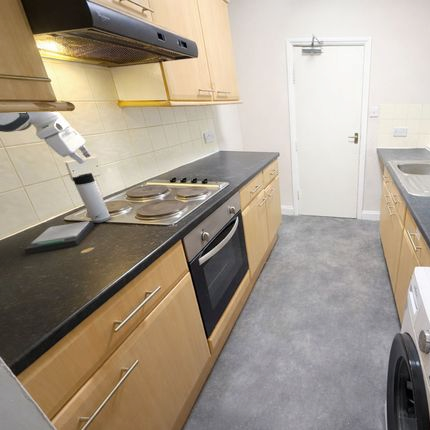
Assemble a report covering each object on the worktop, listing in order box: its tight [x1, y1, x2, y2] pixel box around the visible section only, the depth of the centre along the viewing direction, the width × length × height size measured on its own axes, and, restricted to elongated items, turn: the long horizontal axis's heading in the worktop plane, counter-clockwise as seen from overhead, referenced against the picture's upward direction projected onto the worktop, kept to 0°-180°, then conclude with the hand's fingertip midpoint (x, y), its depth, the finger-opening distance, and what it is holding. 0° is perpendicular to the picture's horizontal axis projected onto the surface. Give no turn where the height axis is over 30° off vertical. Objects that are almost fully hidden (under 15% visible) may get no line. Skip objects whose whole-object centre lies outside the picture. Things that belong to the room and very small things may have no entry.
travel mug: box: [71, 172, 112, 224], centre depth 107 cm, size 6×7×20 cm
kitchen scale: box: [24, 220, 96, 255], centre depth 97 cm, size 14×16×3 cm
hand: (86, 159), depth 105 cm, fingers open, 8 cm apart
